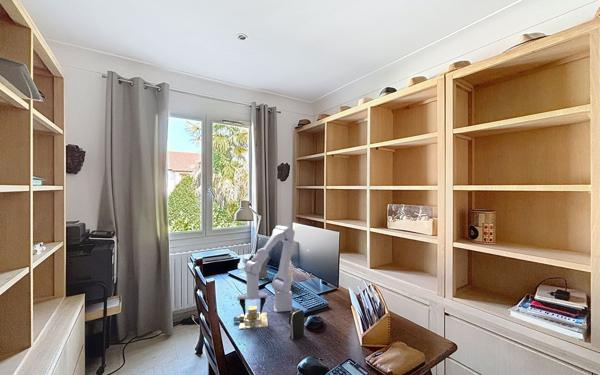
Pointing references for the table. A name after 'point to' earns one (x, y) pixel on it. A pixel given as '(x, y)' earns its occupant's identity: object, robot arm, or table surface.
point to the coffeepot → (263, 268)
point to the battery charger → (296, 323)
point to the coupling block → (252, 313)
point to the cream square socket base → (252, 321)
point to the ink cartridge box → (291, 273)
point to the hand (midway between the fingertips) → (252, 313)
